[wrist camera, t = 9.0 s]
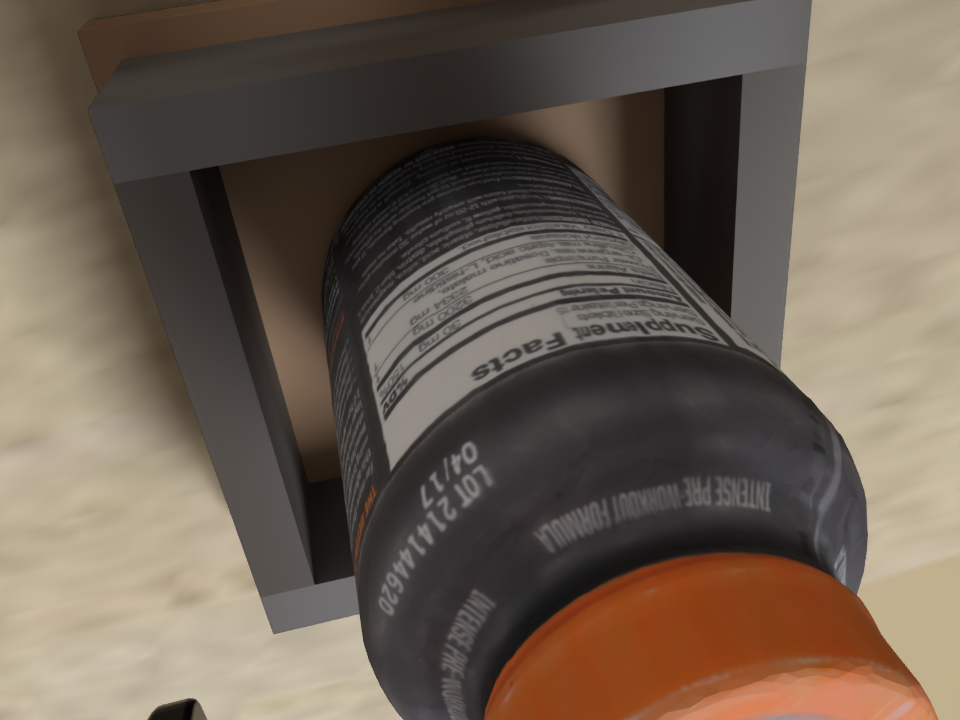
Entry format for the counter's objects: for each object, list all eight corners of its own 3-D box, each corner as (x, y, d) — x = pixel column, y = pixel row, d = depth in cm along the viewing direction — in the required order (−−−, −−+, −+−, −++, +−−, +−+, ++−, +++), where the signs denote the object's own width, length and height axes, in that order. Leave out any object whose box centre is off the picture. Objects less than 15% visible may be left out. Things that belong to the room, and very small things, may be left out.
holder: (723, -77, 15) (849, -54, 12) (706, 420, 21) (788, 529, 18) (88, 20, 14) (32, 76, 11) (256, 520, 20) (253, 658, 17)
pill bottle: (551, 431, 19) (827, 1015, 10) (284, 377, 17) (298, 1051, 8) (670, 181, 17) (1203, 635, 7) (374, 82, 15) (567, 533, 5)
